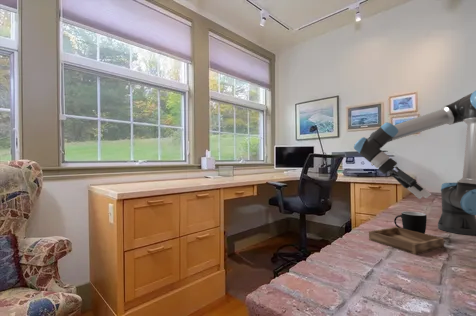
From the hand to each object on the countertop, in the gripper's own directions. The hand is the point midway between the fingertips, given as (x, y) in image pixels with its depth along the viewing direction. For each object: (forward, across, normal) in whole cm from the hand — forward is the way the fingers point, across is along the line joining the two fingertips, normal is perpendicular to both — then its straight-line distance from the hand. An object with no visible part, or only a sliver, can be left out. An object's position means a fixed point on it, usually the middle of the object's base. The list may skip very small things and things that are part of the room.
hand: (425, 196), depth 101 cm
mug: (+9, -5, -16) cm, 19 cm away
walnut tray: (+7, +10, -20) cm, 24 cm away
